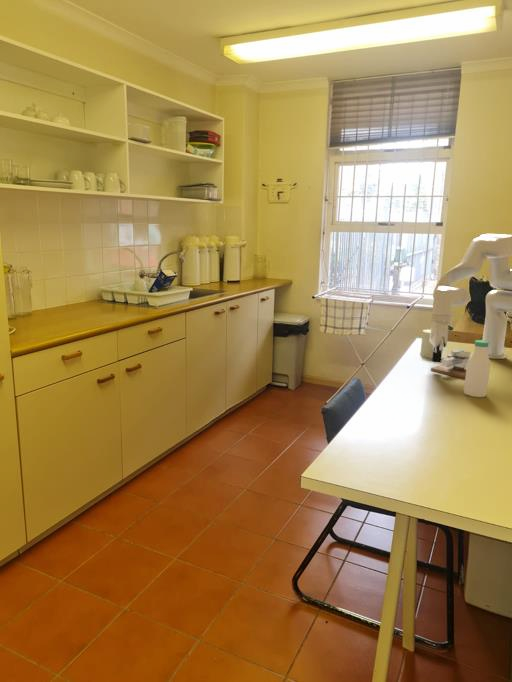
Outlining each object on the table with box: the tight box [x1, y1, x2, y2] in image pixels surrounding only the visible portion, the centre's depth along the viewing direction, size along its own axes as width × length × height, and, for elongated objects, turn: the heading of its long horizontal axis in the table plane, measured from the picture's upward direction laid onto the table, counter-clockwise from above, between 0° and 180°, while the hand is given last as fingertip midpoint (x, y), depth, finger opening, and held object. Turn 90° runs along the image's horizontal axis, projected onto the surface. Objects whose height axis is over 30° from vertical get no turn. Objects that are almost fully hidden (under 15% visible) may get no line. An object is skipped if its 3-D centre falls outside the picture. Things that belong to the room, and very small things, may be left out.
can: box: [419, 329, 433, 358], centre depth 240 cm, size 9×9×12 cm
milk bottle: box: [463, 339, 491, 398], centre depth 183 cm, size 8×8×20 cm
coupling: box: [441, 349, 471, 368], centre depth 211 cm, size 7×14×6 cm, turn 127°
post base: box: [430, 356, 467, 380], centre depth 213 cm, size 16×16×7 cm
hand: (436, 361), depth 212 cm, fingers closed
